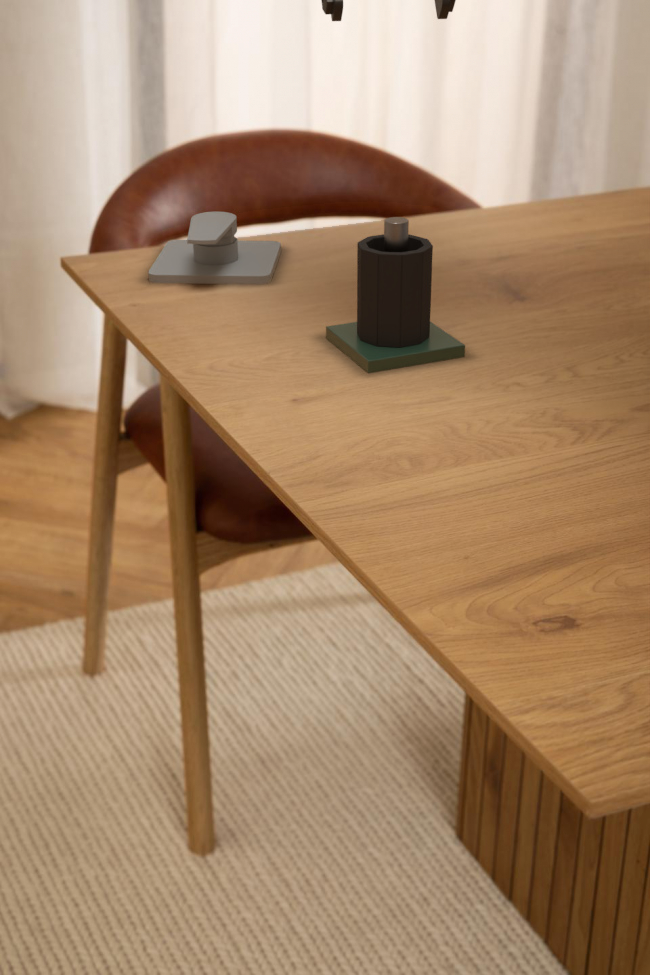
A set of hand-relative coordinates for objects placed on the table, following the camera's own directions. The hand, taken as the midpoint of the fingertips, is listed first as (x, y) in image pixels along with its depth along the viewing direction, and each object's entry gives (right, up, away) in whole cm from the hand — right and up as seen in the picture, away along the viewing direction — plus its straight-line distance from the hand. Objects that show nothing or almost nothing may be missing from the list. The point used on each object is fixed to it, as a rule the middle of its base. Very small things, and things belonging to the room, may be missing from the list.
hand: (391, 13), depth 93 cm
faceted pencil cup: (+1, -24, +9) cm, 26 cm away
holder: (+1, -25, +9) cm, 27 cm away
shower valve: (-17, -15, +30) cm, 37 cm away
